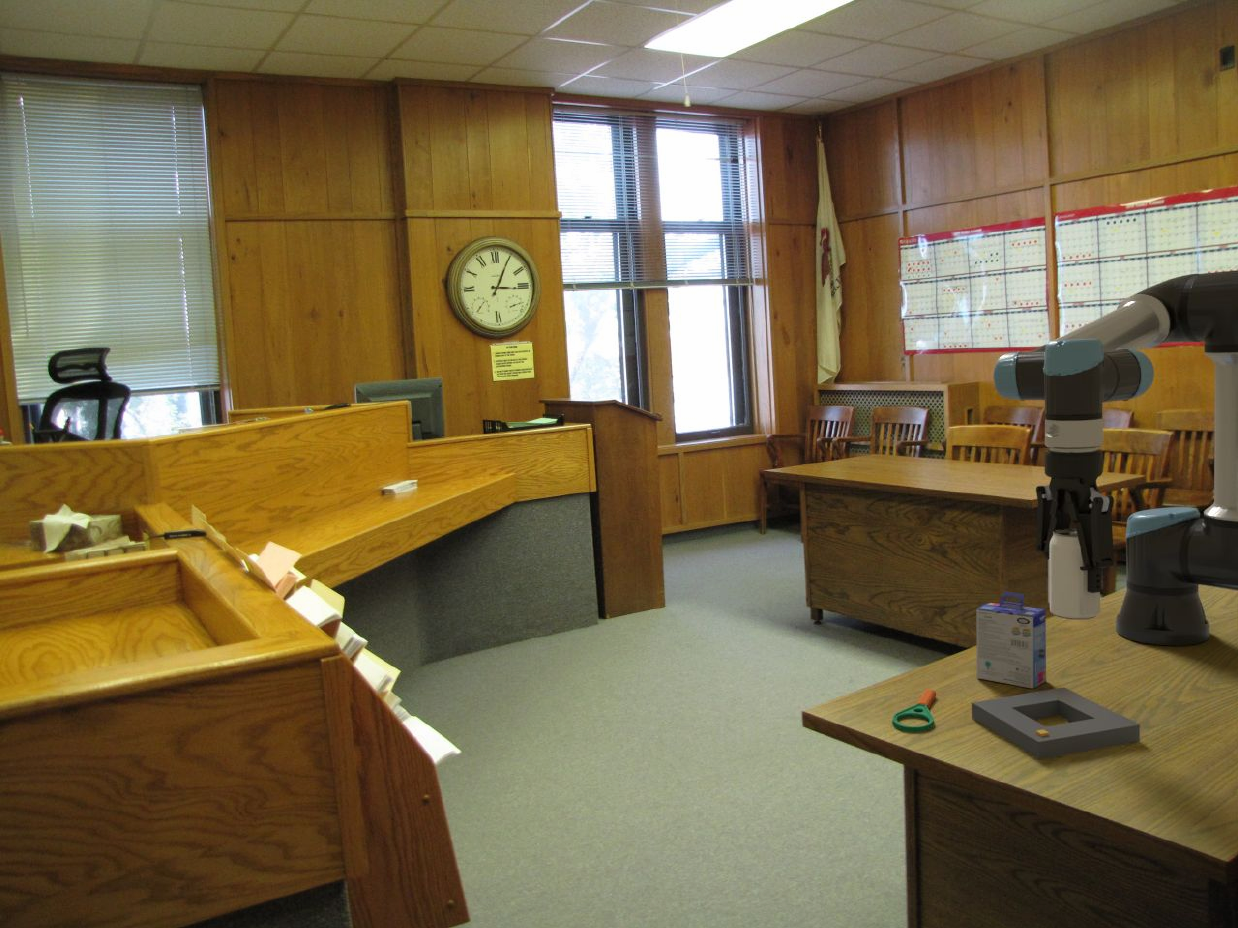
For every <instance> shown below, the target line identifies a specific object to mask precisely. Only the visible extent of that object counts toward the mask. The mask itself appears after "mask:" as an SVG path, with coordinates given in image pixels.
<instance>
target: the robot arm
mask: <svg viewBox="0 0 1238 928" xmlns="http://www.w3.org/2000/svg"><path fill="white" fill-rule="evenodd" d="M1171 343H1204V344H1203V345H1204V355H1205V356H1206V357H1208V358H1209V360H1211V361H1212V362H1213V363H1214V442H1213V443H1214V451H1213V452H1214V455H1213V456H1214V462H1213V465H1214V466H1213V468H1214V469H1213V470H1214V472H1213V474H1214V475H1213V477H1214V478H1213V481H1214V483H1213V484H1214V485H1213V491H1214V492H1213V500H1214V501H1213V503H1212V504H1211V505H1210V506H1209V507H1208V508H1206V509H1205V510H1204V511H1203V518H1200V517H1201V513H1200V511H1199V508H1197V507H1191V506H1175V507H1174V506H1172V507H1171V506H1170V507H1161V508H1151V509H1145V510H1140V511H1136V512H1134V513H1132V514H1131V515H1130V516H1128V518H1127V521H1126V529H1125V530H1126V532H1125V537H1124V538H1125V551H1126V552H1125V557H1126V558H1125V559H1126V560H1125V561H1126V562H1125V563H1126V568H1125V569H1126V570H1125V571H1126V588H1125V589H1126V591H1125V593H1124V597H1123V599H1122V603H1121V606H1120V611H1119V613H1117V616H1116V619H1115V620H1116V621H1115V631H1116V633H1117V634H1118V635H1119V636H1121V637H1123V638H1126V639H1128V640H1131V641H1136V642H1139V643H1144V644H1149V645H1159V646H1161V645H1162V646H1190V645H1196V644H1197V645H1198V644H1201V643H1204V642H1206V641H1208V640H1209V639H1210V629H1211V627H1210V623H1209V621H1208V619H1207V615H1206V612H1205V608H1204V607H1203V603H1202V601H1201V597H1200V595H1199V593H1200V591H1199V589H1200V588H1199V585H1200V586H1201V585H1202V586H1206V587H1212V588H1217V589H1224V590H1225V589H1226V590H1231V591H1237V592H1238V269H1237V270H1226V271H1225V270H1224V271H1215V272H1206V273H1204V272H1203V273H1190V274H1185V275H1181V276H1177V277H1173V278H1170V279H1168V280H1165V281H1162V282H1159V283H1157V284H1155V285H1152V286H1149V287H1147V288H1145V289H1143V290H1141V291H1138V292H1136V293H1134V294H1132V295H1129V296H1128V297H1127V298H1125V299H1123V300H1122V301H1121V302H1120V303H1119V305H1118V306H1117V307H1116V309H1114V310H1113V311H1111V312H1109V313H1107V314H1105V315H1102V316H1101V317H1099V318H1097V319H1095V320H1093V321H1090V322H1089V323H1086V324H1085V325H1082V326H1081V327H1079V328H1077V329H1076V328H1075V329H1074V330H1071V331H1070V332H1068V333H1067V334H1064V335H1062V336H1060V337H1058V338H1056V339H1054V340H1050V341H1049V342H1048V343H1046V344H1043V345H1041V346H1039V347H1037V348H1035V349H1033V350H1031V351H1030V350H1029V351H1020V350H1017V351H1016V352H1008V353H1005V354H1003V355H1001V356H1000V357H999V358H998V360H997V361H996V362H995V365H994V367H993V368H994V369H993V377H992V378H993V380H994V381H993V382H994V388H995V390H996V391H997V393H998V395H1000V396H1001V397H1002V398H1003V399H1006V400H1019V401H1021V402H1025V401H1044V445H1045V447H1047V448H1049V449H1047V450H1046V451H1045V452H1044V474H1045V475H1046V477H1049V478H1050V482H1049V483H1048V484H1047V485H1038V486H1036V487H1035V493H1036V497H1037V499H1036V500H1037V512H1036V513H1037V514H1036V532H1035V533H1036V536H1035V540H1036V541H1035V548H1036V551H1037V552H1042V553H1043V556H1044V558H1046V578H1047V603H1048V604H1050V541H1051V539H1052V537H1053V531H1055V530H1064V529H1070V528H1071V527H1070V526H1071V522H1072V523H1074V525H1075V529H1076V530H1077V535H1078V536H1079V537H1078V540H1079V544H1080V547H1081V554H1082V558H1083V563H1084V566H1083V567H1080V614H1081V615H1091V614H1097V615H1098V614H1100V613H1101V592H1102V590H1103V585H1102V584H1103V569H1107V568H1109V567H1114V565H1115V555H1114V554H1115V551H1114V550H1115V549H1114V534H1113V508H1114V505H1115V504H1114V503H1115V499H1114V496H1113V495H1103V494H1101V493H1100V492H1099V491H1100V490H1099V488H1098V485H1097V479H1098V478H1099V477H1101V476H1102V475H1103V471H1104V470H1103V463H1104V462H1103V457H1104V456H1103V454H1104V453H1103V452H1102V450H1101V449H1099V448H1100V447H1101V446H1103V445H1104V424H1103V423H1104V420H1103V419H1104V418H1103V405H1104V403H1111V402H1118V401H1119V402H1120V401H1121V402H1122V401H1123V402H1127V401H1129V400H1132V399H1137V398H1138V397H1139V398H1140V396H1141V397H1142V396H1143V395H1144V394H1145V393H1147V391H1148V390H1149V389H1150V388H1151V386H1152V385H1153V384H1152V383H1153V382H1154V377H1155V370H1154V366H1153V363H1152V361H1151V359H1150V358H1149V356H1147V355H1146V354H1145V353H1144V352H1142V351H1140V350H1139V349H1143V350H1145V349H1147V350H1148V349H1151V348H1154V347H1157V346H1160V345H1162V344H1171ZM1092 558H1093V561H1092Z"/></svg>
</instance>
